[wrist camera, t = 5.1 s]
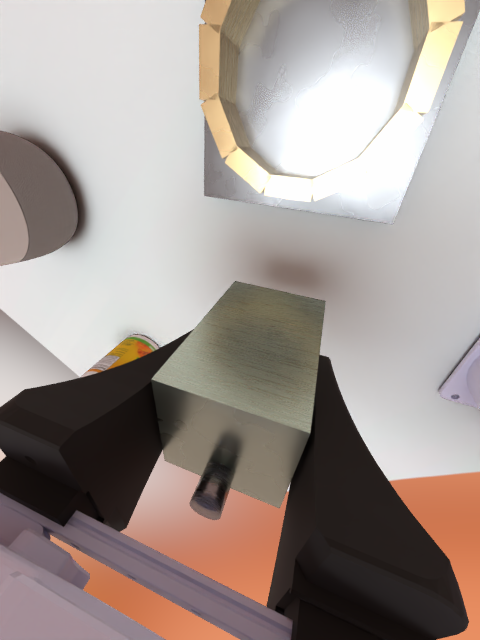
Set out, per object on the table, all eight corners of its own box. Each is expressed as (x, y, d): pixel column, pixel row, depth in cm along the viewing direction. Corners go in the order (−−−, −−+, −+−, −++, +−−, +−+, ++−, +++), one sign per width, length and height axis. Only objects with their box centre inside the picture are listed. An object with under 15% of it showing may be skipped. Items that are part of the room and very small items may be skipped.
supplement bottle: (172, 370, 30) (114, 443, 23) (138, 369, 32) (74, 436, 25) (154, 332, 28) (81, 400, 20) (118, 334, 30) (40, 396, 22)
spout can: (325, 301, 12) (304, 484, 5) (304, 369, 14) (271, 553, 8) (235, 281, 13) (121, 413, 6) (230, 348, 15) (144, 494, 9)
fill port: (532, -139, 9) (620, -275, 6) (390, 220, 16) (400, 234, 13) (215, -99, 12) (174, -180, 9) (210, 194, 18) (186, 200, 15)
